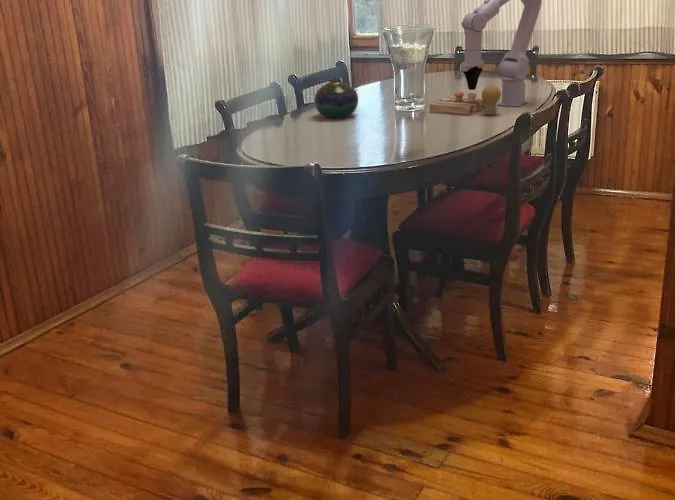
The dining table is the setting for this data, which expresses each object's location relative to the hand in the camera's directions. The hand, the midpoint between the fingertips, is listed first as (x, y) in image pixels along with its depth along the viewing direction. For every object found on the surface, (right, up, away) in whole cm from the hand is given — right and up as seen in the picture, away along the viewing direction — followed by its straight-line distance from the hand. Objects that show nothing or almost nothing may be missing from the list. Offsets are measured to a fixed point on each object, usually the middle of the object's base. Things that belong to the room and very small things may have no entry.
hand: (472, 89), depth 259 cm
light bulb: (+6, -10, -4) cm, 12 cm away
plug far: (-8, -4, +8) cm, 12 cm away
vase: (-47, -9, +3) cm, 48 cm away
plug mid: (-4, -3, +4) cm, 7 cm away
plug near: (0, -4, +2) cm, 4 cm away
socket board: (-4, -6, +6) cm, 9 cm away
